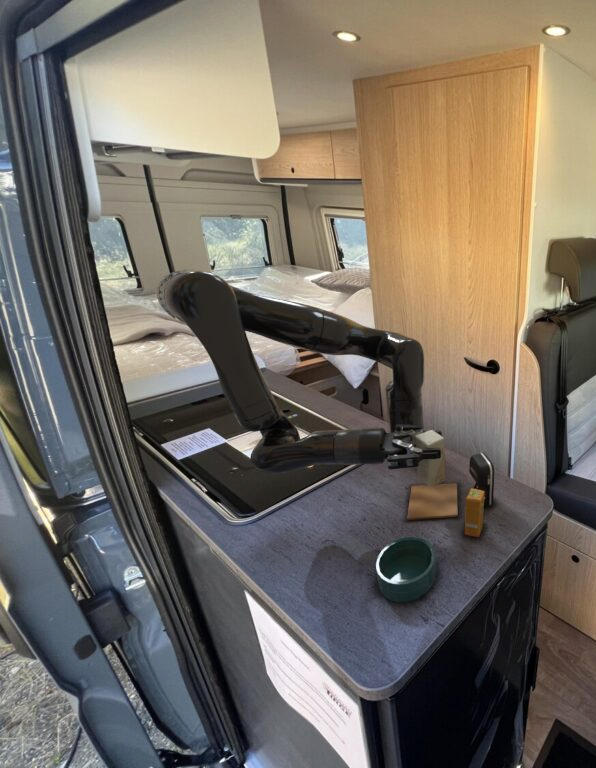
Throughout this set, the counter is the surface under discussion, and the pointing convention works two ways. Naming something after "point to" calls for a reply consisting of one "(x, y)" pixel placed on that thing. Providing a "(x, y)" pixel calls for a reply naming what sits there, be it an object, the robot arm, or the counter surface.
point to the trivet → (433, 501)
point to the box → (431, 468)
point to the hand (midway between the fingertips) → (441, 444)
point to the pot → (406, 569)
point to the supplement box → (474, 512)
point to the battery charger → (483, 475)
